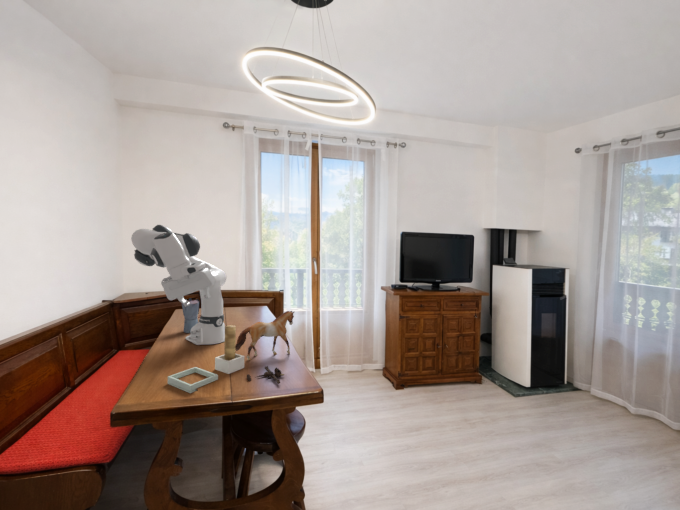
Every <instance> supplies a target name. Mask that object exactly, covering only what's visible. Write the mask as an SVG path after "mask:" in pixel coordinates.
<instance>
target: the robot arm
mask: <svg viewBox="0 0 680 510" xmlns="http://www.w3.org/2000/svg"><path fill="white" fill-rule="evenodd" d="M130 240H131V243H132V245H133V247H134V248H135V249H134V254H133V255H134V260H136V261H137V263H138V264H140V265H142V266H145V267H153V266H155V265H156V266H157V267H160V268H162V269H163V268H166V270H167V273H168V274H169V276H168V277H165V278H163V279H162V280H161V281H160V282H161V283H160V285H161V286H162V288H163V291H164V293H165V295H166V298H167V299H168V300H169V301H173V300H178V301H179V303H181V304H182V303H183V304H184V306H185V307H186V306H189V305H190V303H189V300H187V299H185V297H184V296H189V295H190V294H193V293H195V292H198V291H199V296H200V309H201V312H200V315H199V316H198V317H197V318H198V323H197V324H196V325H194V326H193V327H192V328H191V332H190V333H189V335H187V336H185V340H186V341H189V342H190V343H192V344H194V345H197V346H200V345H217V344H220V343H225V326H226V325H225V322H224V321H225V314H224V299H223V296H222V289H221V288H222V286H223V285H225V283H226V281H227V273H226V271H224V270H223V269H221V268H219V267H217V266H215V265H213V264H211V263H209V262H206V261H204V260H202V259H200V258H198V257H197V255H198V253H199V251H200V249H201V244H200V242H199V240H198V238H197V237H196V236H194V234H191V233H187V232H186V233H183V234H182V233H177V232H173V230H172V229H171V228H170V227H168V226H167V225H162V224H157V225H155V226H154V227H153V228H152V229H149V228H139V229H136V230H135V231H133V233H132V234H131V239H130Z"/></svg>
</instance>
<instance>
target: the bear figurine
mask: <svg viewBox="0 0 680 510" xmlns="http://www.w3.org/2000/svg"><path fill="white" fill-rule="evenodd" d="M264 369H265V370H266V371H265V372H264V373H263V374H261V375H257V376H254V378H255V379H256V380H260V379H267V380H269V379H273V380H274V381H275V382H276V384H278V385H280V384H281V380H280V379H278V378H280V377H282V376H285V373H283V372H282V371H281V370H280V369H279V368H278V367H275V368H274V370H273V371H274V372H273V371H272V370H270V369H269V366H268V365H267V366H264ZM246 379H247V380H248V382H251V381H252V376H251V374H248V373H247V374H246Z"/></svg>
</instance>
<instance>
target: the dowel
mask: <svg viewBox="0 0 680 510" xmlns="http://www.w3.org/2000/svg"><path fill="white" fill-rule="evenodd" d="M236 328H237V326H236V325H233V324H230V325H228V324H227V325H225V341H224V354H223V355H224V359H225V360H228V361H230V360H232V359H235V353H236V350H235V346H236V344H237V339H236V338H237V337H236V336H237V331H236V330H237V329H236Z"/></svg>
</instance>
